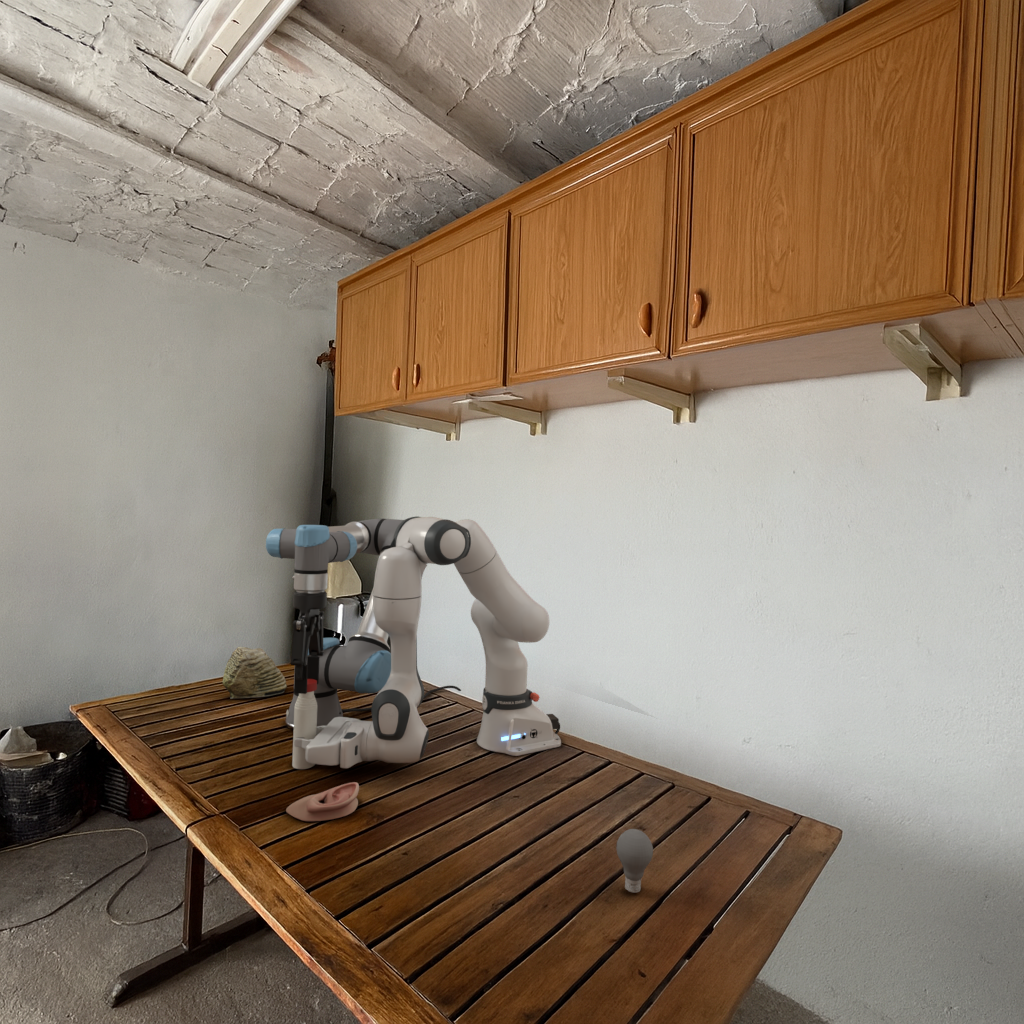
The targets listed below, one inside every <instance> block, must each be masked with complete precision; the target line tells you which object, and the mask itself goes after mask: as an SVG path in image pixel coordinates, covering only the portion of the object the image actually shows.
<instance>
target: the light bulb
mask: <svg viewBox="0 0 1024 1024" xmlns="http://www.w3.org/2000/svg"><path fill="white" fill-rule="evenodd" d="M615 849H616V854H617V857H618V859H619V861H620V863H621V865H622V867H623V873H624V874H623V875H624V876H625V878H624V888H625V890H627V891H628V892H630V893H634V894H635V893H639V892H640V891H641V889H642V887H641V886H642V879H643V877H644V875H645V871H646V868H647V867H648V866H649V864H650V863H651V861H652V859H653V855H654V847H653V843H652V841H651V838H649V836H648V835H647V834H646V833H645V832H643V831H642V830H641V829H636V828H629V829H627V830H625V831H623V832H622V833H621V834H620V835H619V837H618V839H617V841H616V847H615Z"/></svg>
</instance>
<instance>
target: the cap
mask: <svg viewBox="0 0 1024 1024" xmlns="http://www.w3.org/2000/svg"><path fill="white" fill-rule="evenodd" d="M316 689H317V680H314V679H307V692H312V691H315V690H316Z"/></svg>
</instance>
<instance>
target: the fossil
mask: <svg viewBox="0 0 1024 1024" xmlns="http://www.w3.org/2000/svg"><path fill="white" fill-rule="evenodd" d="M222 676H223V677H222V685H223V687H224V688H225V690H226V691H228V693H229V698H230V699H250V698H264V697H271V696H275V695H281V694H284V693H285V691H286V689H287V687H288V686H287V680H286V678H285V676H284V674H283V673H282V672H281V669H279V668H278V667H277V665H276V663H275V662H274V660H273V659H272V658H271V657H270V656H269V655H268V654H267V653H266V652H265V650H264V649H263V648H260V647H258V648H251V647H247V646H246V647H245V646H238V647H237V648H236V649H235V650H233V651H232V653H231V656H230V657H229V659H228V660H227V663H226V666H225V668H224V671H223V675H222Z"/></svg>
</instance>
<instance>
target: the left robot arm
mask: <svg viewBox="0 0 1024 1024" xmlns="http://www.w3.org/2000/svg"><path fill="white" fill-rule="evenodd" d="M404 520H405V519H397V518H396V519H394V518H380V517H379V518H370V519H365V520H364V519H363V520H357V521H350V522H348V523H346V524H344V525H334V526H333V525H332V526H328V525H325V524H324V525H323V524H300V525H298V526H297V527H296V528H285V527H282V528H273V529H271V530H270V531H269V532H268V534H267V535H266V538H265V549H266V552H267V554H268V555H269V556H270V557H273V558H279V559H281V560H282V559H288V560H289V559H291V560H292V559H293V560H294V570H293V571H294V572H293V574H294V575H292V577H291V578H292V580H293V589H294V590H295V591H294V592H293V593H292V598H293V599H292V607H293V608H294V609H297V610H299V615H298V617H297V620H293V622H292V628H293V632H292V644H291V646H292V647H291V658H290V665H291V666H294V672H293V695H292V696H293V697H292V699H291V702H290V704H289V708H288V709H286V712H285V714H286V715H285V726H286V728H287V729H289V730H291V731H294V706H295V703H296V701H297V698H298V696H299V693H300V694H306V693H307V679H314V680H317V689H316V690H315V691H314V695H315V698H316V702H317V727H318V726H323V725H324V726H327V725H328V724H329V723H330V721H331V720H332V719H333V718H335V717H344V714H343V713H350V712H353V713H354V712H355V713H356V712H369V711H371V708H372V706H371V707H364V708H342V706H341V702H340V699H339V695H338V690H341V691H347V692H354V693H357V694H358V693H359V694H376V693H377V694H378V693H379V691H380V690H381V689H382V688H383V687H384V685H385V684H386V682H387V680H388V678H389V676H390V673H391V646H390V645H389V644H388V640H389V635H388V633H387V632H385V631H383V630H382V629H381V628H380V627H379V626H378V625H377V624H376V622H375V617H374V610H373V590H374V586H373V588H372V590H371V593H370V596H369V598H368V601H367V604H366V607H365V609H364V613H363V615H362V617H361V620H360V624H359V626H358V629H357V632H356V633H354V634H353V635H350V637H349V638H348V641H347V644H346V645H340V644H341V643H340V642H341V641H340V639H339V638H337V637H324V618H325V612H324V611H321V610H322V609H325V608H326V607H327V605H328V604H327V599H328V592H327V591H326V590H327V589H328V579H329V573H328V571H329V564H332V563H338V562H340V563H343V562H345V561H348V560H351V559H352V558H353V557H354V556H355V555H356V554H367V555H373V556H380V554H381V553H382V552H383V551H385V550H387V549H389V548H391V542H392V540H393V537H394V533H395V531H396V529H397V527H398V525H399V524H400V523H401V522H402V521H404ZM392 547H393V546H392ZM446 689H455V690H457V692H461V691H462V689H461V688H460V687H458V686H456V685H444V686H440V687H437V688H433V689H430V690H428V691H427V692H426V693H424V698H423V700H424V699H426V698H427V697H428V695H430V694H432V693H435V692H438V691H442V690H446Z"/></svg>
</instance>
